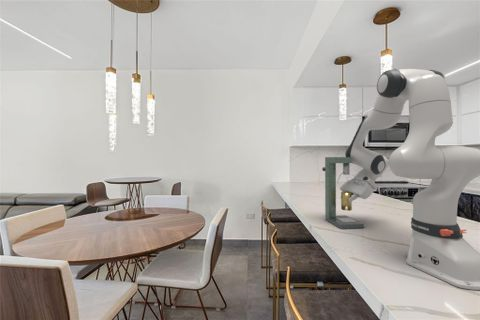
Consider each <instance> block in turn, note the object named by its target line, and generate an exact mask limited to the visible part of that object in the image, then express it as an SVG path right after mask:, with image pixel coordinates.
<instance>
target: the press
mask: <svg viewBox="0 0 480 320" xmlns="http://www.w3.org/2000/svg"><path fill="white" fill-rule="evenodd" d="M324 159H325V161H324V166H323V167H322V169H321V170H322V171H323V172H324V176H325V177H324V183H325V184H324V185H325V187H324V190H325V193H324V194H325V196H324V199H325V200H324V203H325V204H324V209H325V210H324V211H325V212H324V213H325V214H324V215H325V216H324V217H325V220H326V221H327V222H329V224H330V223H331V224H332V225H334V227H337V228H338V229H340V230H347V229H364V228H365V224H364V223H363V222H361V221H359V220H357V219H355V218H352V217H350V216H349V215H345V214H344V215H337V181H336V180H337V179H336V178H337V169H336V168H337V166H336V165H337V164H342V174H343V175H345V176H346V175H347V176H348V175H351V174H350V169H351V168H350V164H353V163H352V157H346V156H342V157H341V156H326V157H324Z"/></svg>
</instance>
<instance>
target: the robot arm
mask: <svg viewBox="0 0 480 320" xmlns="http://www.w3.org/2000/svg"><path fill="white" fill-rule="evenodd" d="M376 83H377V84H376V90H377V93H378V96H377V97H376V99H375V102H374V106H373V108H372V110H371V113H370V114H369V115H368V116H367V115H366V116H365V117H364V118H363V119H362V121H361V122H360V124H359V126H358V128H357V129H356V131H355V134H354V136H353V138H352V140H351V143H350V144H349V146H348V147H347V149H346V151H345V156H344V157H352V163H351V164H354V165H356V166H358V167H360V168H362V169H361V170H359V172H357V173H356V174H355V176H354V177H353V178H352V179H348V180H346V181H345V182H344V183H343V184H342V185H340V188H339V189H340V190H341V192H351V193H352V197H350V198H348V199H347V201H348V202H350V203H351V202H352V203H353V201H355V200H357V199H358V198H360V199H362V200H366V199H368V198H370V196H372V194H374V192H375V190H377V189H378V188H379V187H378V185H377V184H376V183H375V182H377V181H376V180H377V179H379V178H380V177H381V176H382V175H383V174H384V173H385V171H386V170H387V168H388V167H389V169H390V171H391V173H393V175H394V176H396V177H399V178H400V177H401V178H406V179H409V180H410V179H411V180H431V181H430V183H429V185H428V186H427V187H426V188H424V189H422V190H419V191H417V192H416V193H415V194H414V195H413V198H412V217H411V221H410V224H411V225H410V227H411V229H412V232H411V236H410V239H409V247H408V252H407V255H406V261H405V263H406V264H407V265H409V266H411V267H413V268H416V269H417V270H419V271H422V272H424V273H425V274H428V275H430V276H432V277H435V278H437V279H440V280H441V281H444V282H446V283H447V284H450V285H453V286H454V287H457V288H460V289H465V290H476V291H477V290H478V291H480V252H478V251H477V250H476V249H475V248H474V246H472V245H471V244H470V243H469V241H467V240H466V239H465V238H464V234H467V232H466V231H467V229H466V228H464V229H461V227H460V225H459V224H458V221H457V220H458V204H459V200H460V196H461V194H462V192H463V191H464V189H465V188H466V186H468V184H470V183H471V182H472V181H474V179H476V178H478V177H480V148H479V149H478V148H476V147H470V146H463V145H436V142H435V141H436V138H437V137H439V136H441V135H443V134H445V133H446V132H448V131H449V130H450V129H451V128H452V127H453V124H454V121H453V120H454V119H453V110H452V100H451V95H450V91H449V87H448V84H447V81H446V80H445V76H444V74H443V73H442V72H441V71H438V70H435V69H434V70H433V69H428V70H427V69H418V68H417V69H416V68H400V69H397V68H393V69H388V70H385V71H383V73H382V74H381V75H380V76H379V78H378V79H377V82H376ZM407 101H408V115H409V130H408V134H407V136H406V139H405V140H404V142H403V143H402V144H401V145H400V146H399V147H397V148H396V149H394V150H393V151H392V153H391V154H390V156H389V158H387V157H386V156H385V155H382V154H381V153H379V152H376V151H373V150H370V149H369V148H366V147H364V146H363V144H364V142H365V140H366V138H367V136H368V134H369V133H370V131H376V130H380V131H381V130H387V129H390V128H392V127H394V126H396V124H398V122H399V120H400V119H401V115H402V113H403V110H404V108H405V107H404V106H405V104H406V102H407ZM340 199H341V196H340Z"/></svg>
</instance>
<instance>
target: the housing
mask: <svg viewBox="0 0 480 320" xmlns="http://www.w3.org/2000/svg"><path fill="white" fill-rule="evenodd" d="M352 196H353V195H352V193H351V192H342V191H341V192H340V197H341V198H340V200H341V201H340V205H341V206H340V207H341V209H340V210H342V211H347V212H348V211H352V210H353V201H352V202H351V203H350V202H348V201H347V199H348V198H350V197H352Z"/></svg>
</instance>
